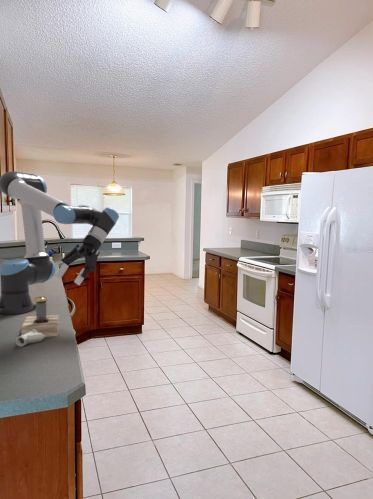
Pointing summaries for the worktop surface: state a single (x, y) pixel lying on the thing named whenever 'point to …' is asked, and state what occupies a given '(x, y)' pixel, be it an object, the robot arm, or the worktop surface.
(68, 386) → the worktop surface
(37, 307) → the gold-capped peg
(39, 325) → the socket block
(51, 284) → the worktop surface
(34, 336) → the pipe fitting
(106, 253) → the worktop surface
